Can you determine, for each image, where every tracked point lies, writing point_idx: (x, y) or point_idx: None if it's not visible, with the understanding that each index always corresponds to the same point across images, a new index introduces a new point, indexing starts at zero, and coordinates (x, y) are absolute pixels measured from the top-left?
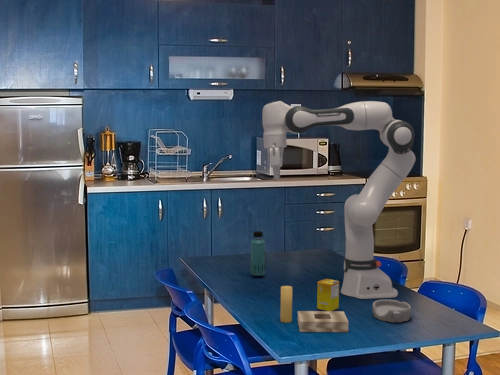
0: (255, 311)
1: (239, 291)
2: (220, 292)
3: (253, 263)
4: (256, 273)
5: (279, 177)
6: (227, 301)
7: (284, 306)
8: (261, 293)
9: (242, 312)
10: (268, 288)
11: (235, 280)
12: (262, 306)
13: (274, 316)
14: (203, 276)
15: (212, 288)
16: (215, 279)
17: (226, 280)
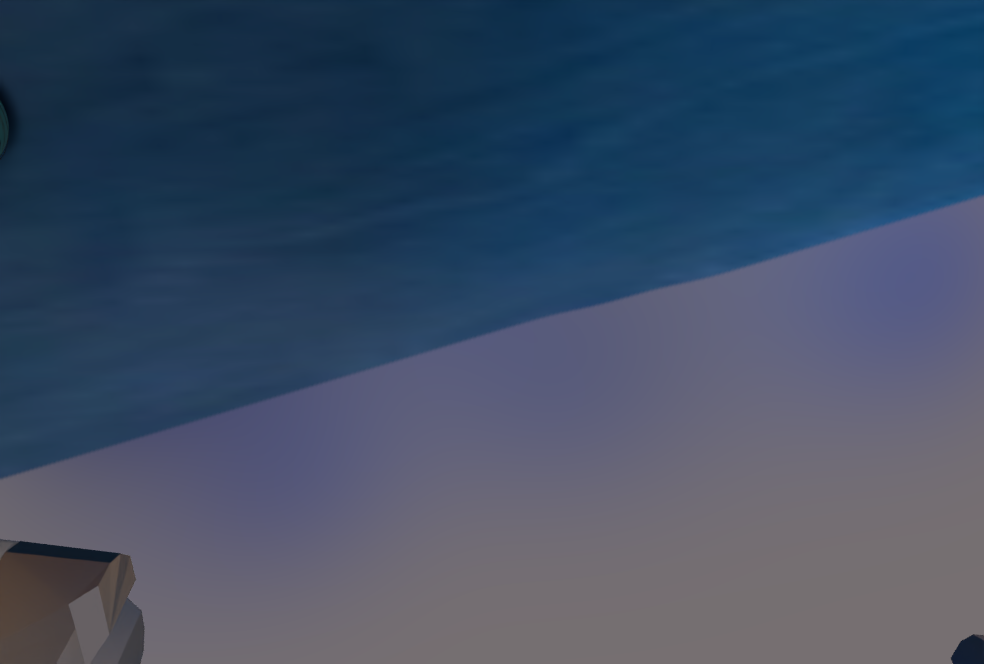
0: (838, 121)
1: (388, 226)
2: (420, 331)
3: None
4: (5, 131)
5: (113, 580)
6: (615, 284)
7: None
8: (427, 82)
9: (845, 195)
10: (287, 30)
11: (108, 260)
12: (738, 77)
13: (963, 2)
14: (55, 445)
15: (334, 378)
16: (113, 377)
17: (122, 314)
